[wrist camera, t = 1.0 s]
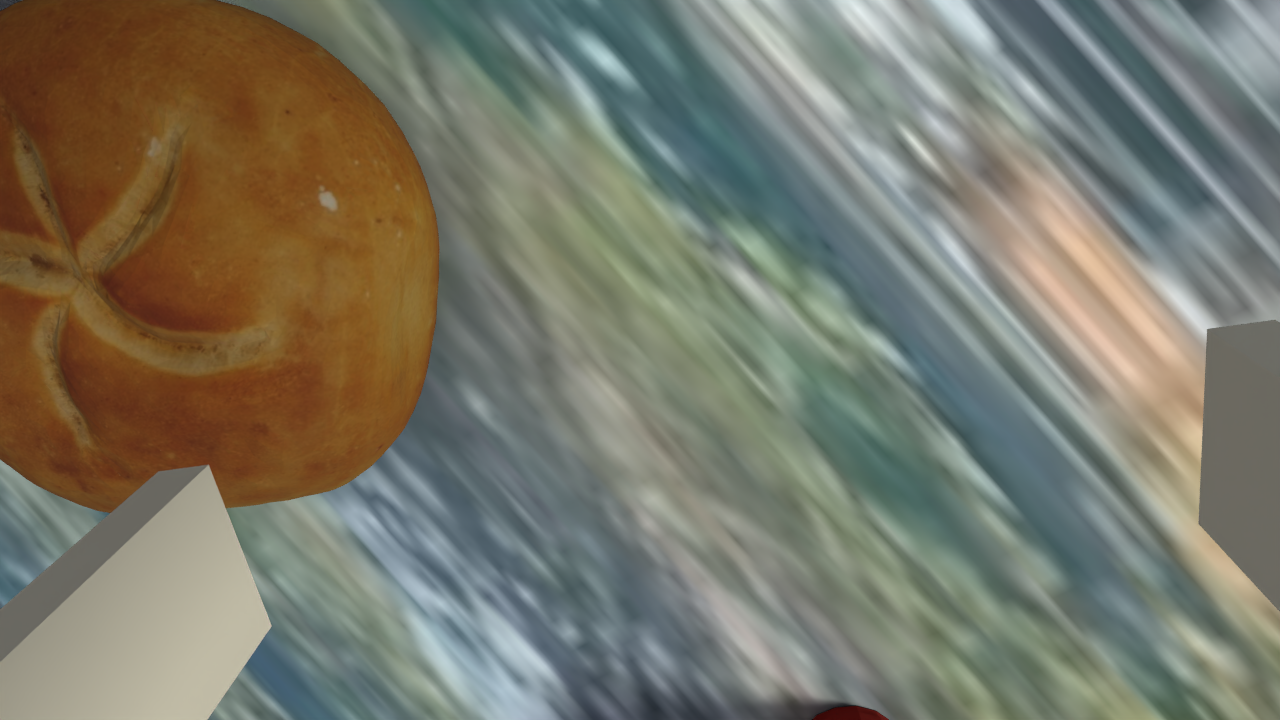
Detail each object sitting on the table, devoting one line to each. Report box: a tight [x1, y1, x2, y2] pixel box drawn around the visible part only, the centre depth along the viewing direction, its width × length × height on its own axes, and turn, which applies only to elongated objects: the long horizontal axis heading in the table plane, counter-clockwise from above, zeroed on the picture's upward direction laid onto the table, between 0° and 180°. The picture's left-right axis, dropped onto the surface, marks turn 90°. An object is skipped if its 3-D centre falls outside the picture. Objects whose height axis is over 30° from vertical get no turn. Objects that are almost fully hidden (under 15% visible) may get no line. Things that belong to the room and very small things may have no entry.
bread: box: [0, 0, 439, 513], centre depth 38 cm, size 23×23×10 cm
